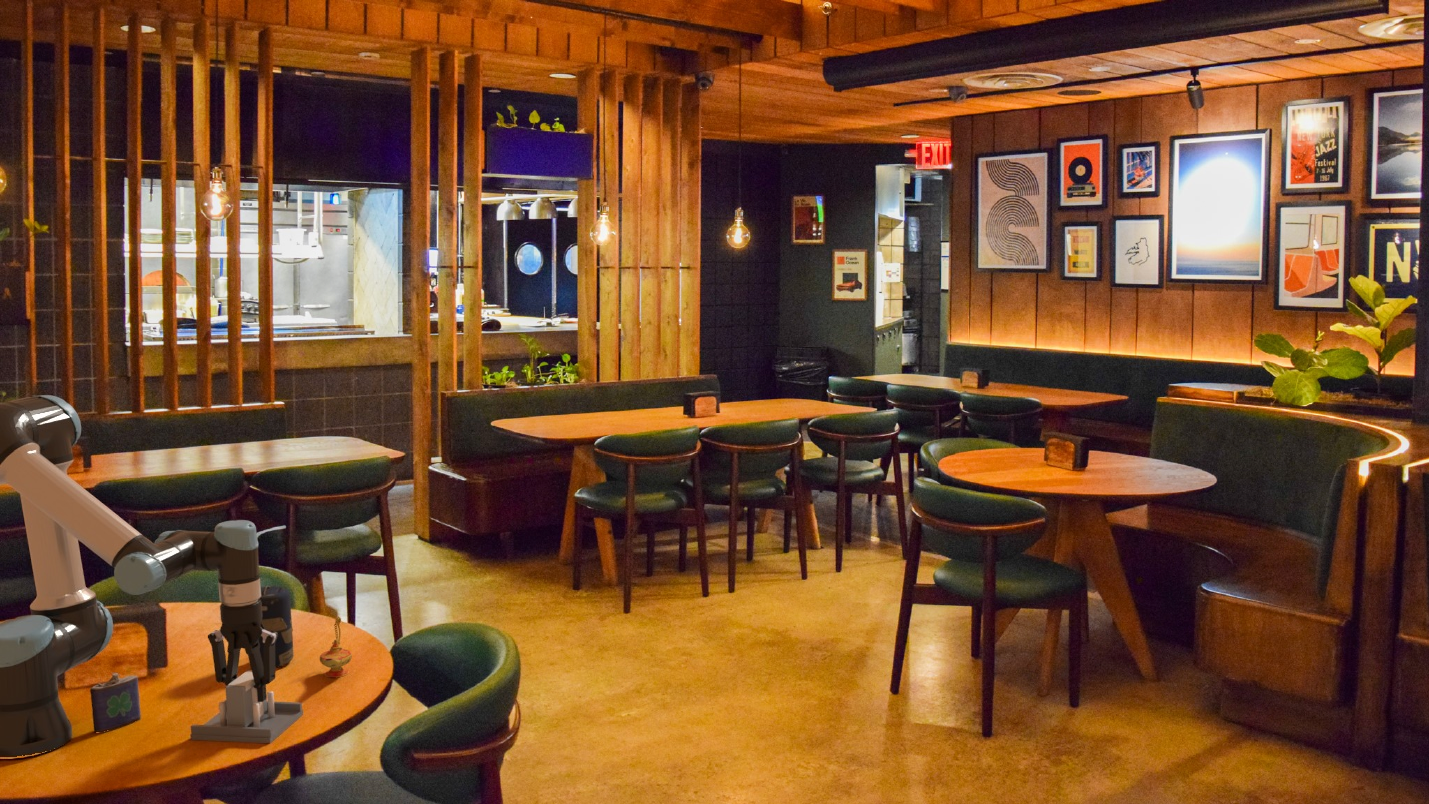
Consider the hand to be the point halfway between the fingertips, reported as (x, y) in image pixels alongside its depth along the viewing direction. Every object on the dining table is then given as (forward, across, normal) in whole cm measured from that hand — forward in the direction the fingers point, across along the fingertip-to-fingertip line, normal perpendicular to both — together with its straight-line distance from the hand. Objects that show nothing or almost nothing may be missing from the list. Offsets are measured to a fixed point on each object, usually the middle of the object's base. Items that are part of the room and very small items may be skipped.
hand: (248, 716), depth 240 cm
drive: (0, 0, 0) cm, 0 cm away
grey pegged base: (+2, 0, 0) cm, 2 cm away
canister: (+2, -12, +34) cm, 36 cm away
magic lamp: (+2, +5, +28) cm, 29 cm away
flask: (+2, -26, -2) cm, 26 cm away
